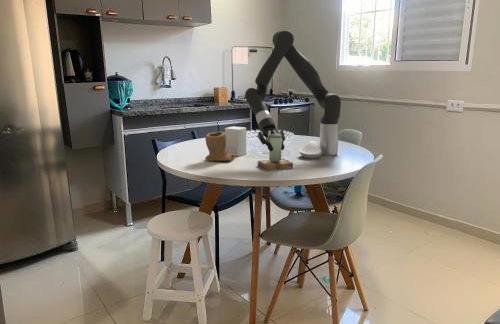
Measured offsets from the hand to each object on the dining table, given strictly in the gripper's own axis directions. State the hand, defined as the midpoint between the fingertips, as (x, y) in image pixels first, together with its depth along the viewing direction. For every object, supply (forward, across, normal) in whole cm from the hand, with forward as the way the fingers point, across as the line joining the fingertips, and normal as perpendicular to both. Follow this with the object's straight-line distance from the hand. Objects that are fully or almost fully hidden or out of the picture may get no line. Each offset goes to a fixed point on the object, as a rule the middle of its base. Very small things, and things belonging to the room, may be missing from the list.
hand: (277, 149), depth 179 cm
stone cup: (-11, -19, +24) cm, 33 cm away
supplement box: (-18, -5, +31) cm, 37 cm away
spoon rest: (-4, +32, +18) cm, 36 cm away
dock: (+5, 0, +7) cm, 9 cm away
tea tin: (+3, 0, +5) cm, 6 cm away
